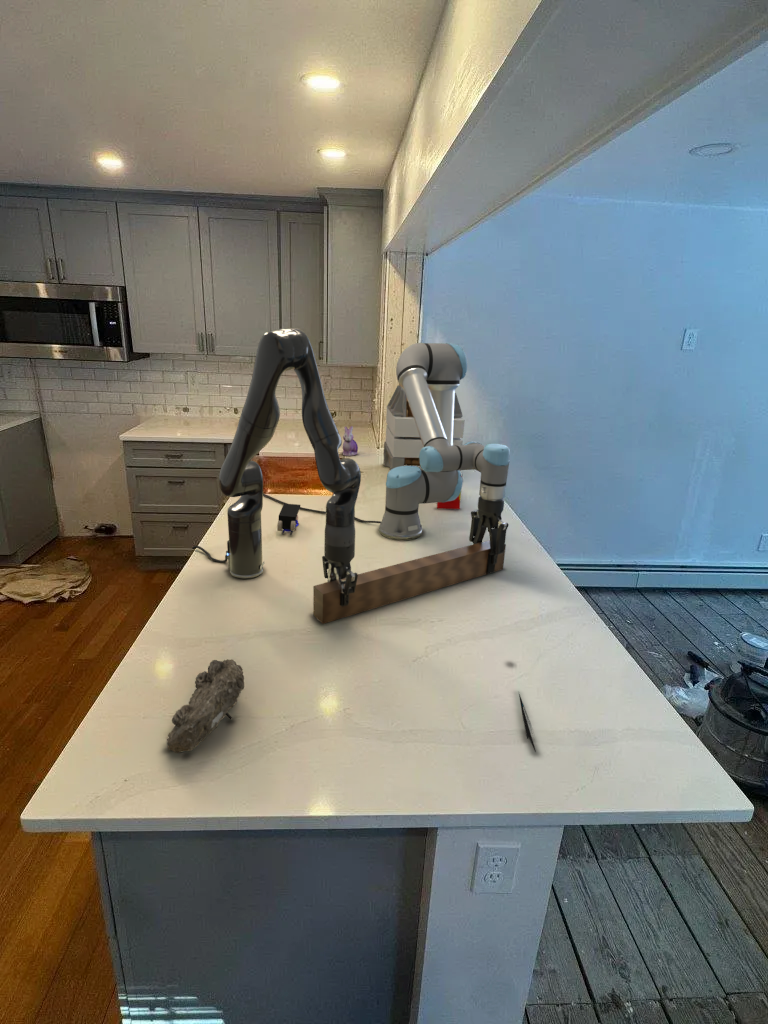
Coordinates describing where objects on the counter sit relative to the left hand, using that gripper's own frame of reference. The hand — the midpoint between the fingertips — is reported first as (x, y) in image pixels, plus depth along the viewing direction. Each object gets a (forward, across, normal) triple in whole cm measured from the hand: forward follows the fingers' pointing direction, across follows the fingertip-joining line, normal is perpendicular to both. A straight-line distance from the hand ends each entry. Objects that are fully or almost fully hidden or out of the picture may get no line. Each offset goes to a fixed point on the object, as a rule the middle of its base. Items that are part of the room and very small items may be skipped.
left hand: (338, 600), depth 145 cm
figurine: (+4, -142, +90) cm, 168 cm away
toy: (+4, -60, +86) cm, 105 cm away
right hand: (+3, 0, +52) cm, 52 cm away
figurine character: (+4, -58, +14) cm, 60 cm away
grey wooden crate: (+4, -96, +101) cm, 139 cm away
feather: (+4, +50, +14) cm, 52 cm away
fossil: (+4, +21, -40) cm, 46 cm away
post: (+4, 0, +26) cm, 26 cm away
